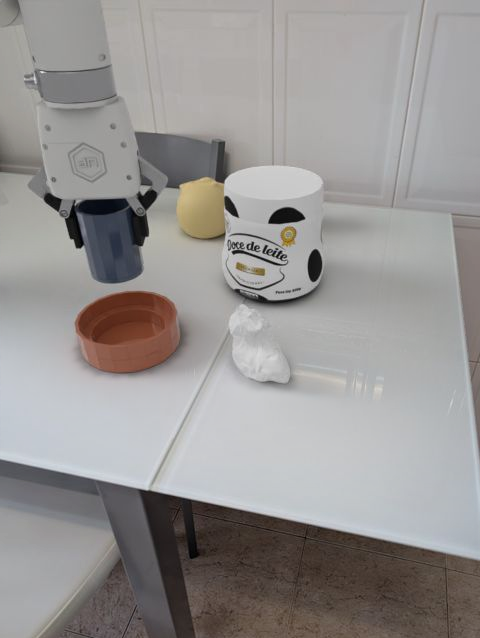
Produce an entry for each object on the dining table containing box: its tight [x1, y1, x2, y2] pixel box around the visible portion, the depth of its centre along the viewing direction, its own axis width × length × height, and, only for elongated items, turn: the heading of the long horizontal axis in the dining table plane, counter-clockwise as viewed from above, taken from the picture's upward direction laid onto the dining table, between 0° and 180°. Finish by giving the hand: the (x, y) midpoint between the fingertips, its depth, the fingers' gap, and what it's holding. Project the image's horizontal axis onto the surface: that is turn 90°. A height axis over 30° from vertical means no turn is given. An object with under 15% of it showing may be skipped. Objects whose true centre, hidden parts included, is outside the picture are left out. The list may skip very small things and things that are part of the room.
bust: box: [228, 303, 291, 385], centre depth 65 cm, size 12×8×11 cm
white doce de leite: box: [221, 164, 326, 303], centre depth 81 cm, size 17×17×18 cm
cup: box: [74, 198, 145, 285], centre depth 62 cm, size 7×7×9 cm
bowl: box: [74, 290, 181, 374], centre depth 71 cm, size 14×14×5 cm
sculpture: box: [175, 176, 226, 240], centre depth 100 cm, size 12×12×11 cm
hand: (111, 241), depth 63 cm, fingers closed on cup, 6 cm apart
